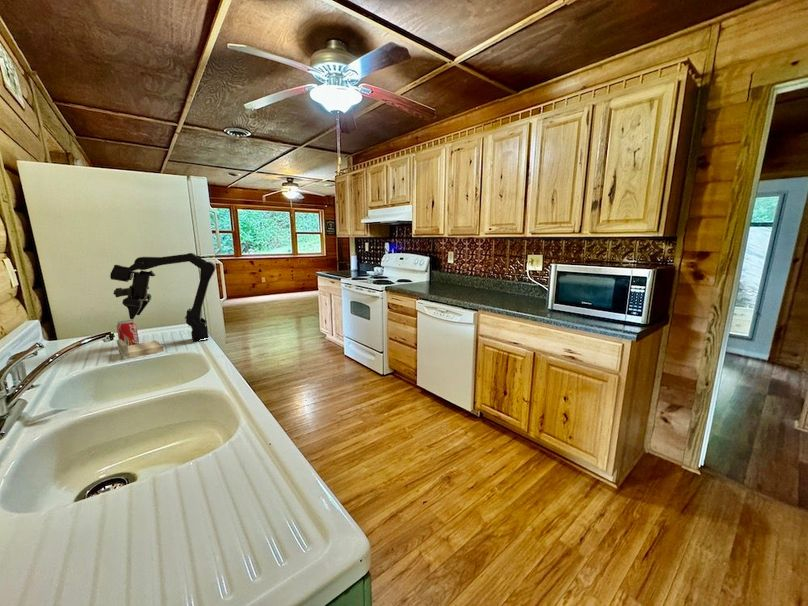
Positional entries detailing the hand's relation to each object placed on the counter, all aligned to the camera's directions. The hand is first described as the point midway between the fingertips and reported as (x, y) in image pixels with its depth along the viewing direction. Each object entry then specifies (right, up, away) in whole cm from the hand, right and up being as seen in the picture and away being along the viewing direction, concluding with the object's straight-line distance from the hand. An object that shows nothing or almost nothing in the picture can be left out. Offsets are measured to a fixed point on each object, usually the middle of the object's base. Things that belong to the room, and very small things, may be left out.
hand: (134, 317), depth 150 cm
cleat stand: (+8, -15, -4) cm, 18 cm away
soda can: (-5, -14, +3) cm, 15 cm away
